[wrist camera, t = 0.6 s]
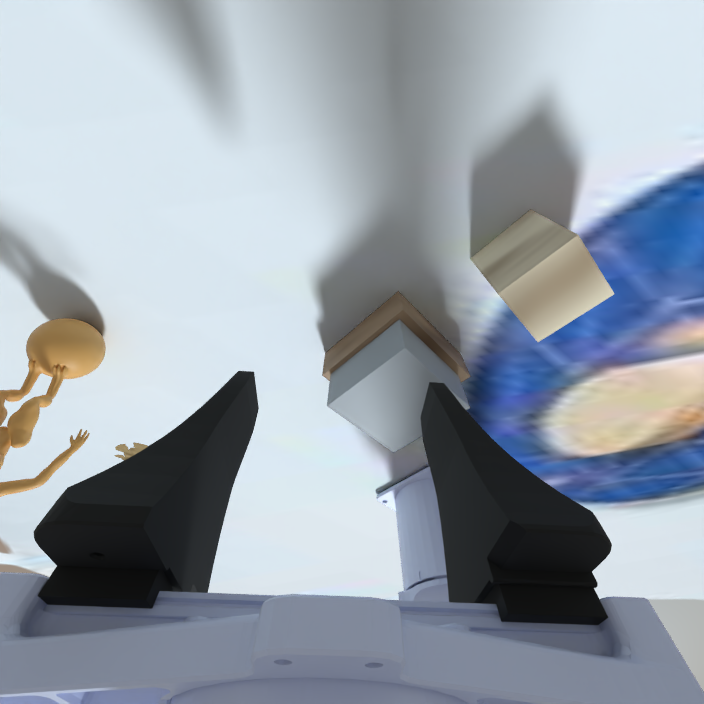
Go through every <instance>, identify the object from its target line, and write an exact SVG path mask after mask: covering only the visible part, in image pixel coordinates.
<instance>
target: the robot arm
mask: <svg viewBox="0 0 704 704" xmlns="http://www.w3.org/2000/svg"><path fill="white" fill-rule="evenodd" d="M258 409H259V408H258V400H257V392H256V385H255V377H254V372H247V371H238V372H237V373H236V374H235V375H234V376H233V377H232V378H231V379H230V380H229V381H228V382H227V383H226V384H225V385H224V386H223V387H222V388H221V389H220V390H219V391H218V392H217V393H216V394H215V395H214V396H213V397H212V398H211V399H209V400H208V401H207V402H206V403H205V404H204V405H203V406H202V407H201V408H200V409H198V410H197V411H196V412H195V413H194V414H193V415H191V416H190V417H189V418H188V419H187V420H185V421H184V422H183V423H182V424H180V425H179V426H178V427H176V428H175V429H174V430H172V431H171V432H170V433H168V434H167V435H165V436H164V437H162V438H161V439H159V440H158V441H156V442H155V443H153V444H151V445H150V446H148V447H147V448H145V449H143V450H142V451H140V452H139V453H137V454H135V455H133V456H132V457H130V458H128V459H126V460H124V461H123V462H121V463H119V464H117V465H115V466H113V467H111V468H109V469H107V470H105V471H103V472H101V473H99V474H97V475H95V476H93V477H90V478H88V479H86V480H84V481H82V482H80V483H77V484H75V485H73V486H71V487H68V488H67V489H66V490H65V492H64V493H63V494H62V495H61V496H60V498H59V499H58V500H57V501H56V503H55V504H54V505H53V507H52V508H51V509H50V510H49V512H48V513H47V514H46V516H45V517H44V518H43V520H42V521H41V522H40V524H39V525H38V526H37V528H36V529H35V531H34V538H35V541H36V543H37V544H38V546H39V547H40V548H41V549H42V550H43V551H44V552H45V553H46V554H47V555H48V556H49V557H50V559H51V560H52V561H53V562H54V563H55V564H56V565H57V567H56V568H55V570H54V572H53V573H52V575H51V576H50V578H49V577H47V576H44V575H41V574H33V573H7V572H0V704H704V692H703V690H702V688H701V687H700V685H699V684H698V682H697V680H696V678H695V677H694V675H693V673H692V672H691V670H690V669H689V667H688V665H687V664H686V662H685V660H684V659H683V657H682V655H681V654H680V652H679V650H678V649H677V647H676V646H675V644H674V642H673V640H672V639H671V637H670V636H669V634H668V632H667V630H666V629H665V627H664V625H663V624H662V622H661V621H660V619H659V617H658V615H657V614H656V612H655V610H654V609H653V608H652V606H651V604H650V602H649V601H648V600H647V599H645V598H634V597H606V598H602V599H600V600H599V598H598V596H597V594H596V592H595V590H594V588H596V587H597V581H596V579H595V577H594V575H593V573H592V571H593V570H594V569H595V568H596V567H597V566H598V565H599V564H600V563H601V562H602V561H603V560H604V559H605V558H606V557H607V556H608V555H609V553H610V551H611V546H612V544H611V542H610V540H609V538H608V536H607V535H606V533H605V531H604V530H603V528H602V526H601V525H600V523H599V521H598V520H597V518H596V517H595V515H594V514H593V512H591V511H590V510H588V509H586V508H585V507H583V506H581V505H580V504H578V503H576V502H575V501H573V500H571V499H570V498H568V497H566V496H565V495H563V494H561V493H560V492H558V491H557V490H555V489H554V488H553V487H551V486H550V485H548V484H547V483H545V482H544V481H542V480H541V479H540V478H538V477H537V476H535V475H534V474H533V473H531V472H530V471H529V470H527V469H526V468H525V467H524V466H522V465H521V464H520V463H519V462H517V461H516V460H515V459H514V458H513V457H511V456H510V455H509V454H508V453H507V452H506V451H505V450H503V449H502V448H501V447H500V446H499V445H498V444H497V443H496V442H495V441H494V440H493V439H492V438H491V437H490V436H489V435H488V434H487V433H486V432H485V431H484V430H483V429H482V428H481V427H480V426H479V425H478V424H477V423H476V421H475V420H474V419H473V418H472V417H471V416H470V414H469V413H468V412H467V411H466V410H465V408H464V407H463V406H462V405H461V404H460V402H459V401H458V400H457V399H456V397H455V396H454V395H453V393H452V392H451V391H450V390H449V388H448V387H447V386H446V385H445V383H437V382H429V386H428V390H427V393H426V397H425V401H424V405H423V409H422V413H421V417H420V419H421V428H422V436H423V442H424V446H425V450H426V454H427V458H428V462H429V467H427V468H425V469H423V470H421V471H420V472H418V473H416V474H414V475H412V476H411V477H409V478H407V479H405V480H403V481H401V482H400V483H398V484H396V485H394V486H392V487H390V488H389V489H387V490H385V491H383V492H381V493H380V494H378V495H377V501H379V502H380V503H382V504H384V505H385V506H387V507H389V508H390V509H392V510H394V511H395V512H396V517H397V527H398V537H399V547H400V557H401V567H402V577H403V586H404V591H402V592H399V593H398V594H399V600H385V599H379V598H372V597H350V596H324V595H299V594H291V595H278V596H274V595H248V594H222V593H208V588H209V583H210V578H211V573H212V569H213V564H214V559H215V555H216V551H217V546H218V542H219V537H220V533H221V529H222V525H223V521H224V517H225V513H226V509H227V505H228V502H229V498H230V494H231V490H232V487H233V484H234V481H235V478H236V476H237V473H238V470H239V468H240V465H241V462H242V460H243V457H244V454H245V452H246V449H247V446H248V444H249V441H250V438H251V436H252V433H253V430H254V426H255V422H256V417H257V413H258Z"/></svg>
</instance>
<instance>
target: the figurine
mask: <svg viewBox="0 0 704 704" xmlns="http://www.w3.org/2000/svg"><path fill="white" fill-rule="evenodd" d="M26 352H27V356H28V358H29V365H28V366H29V373H28V375H27V377H26V379H25V381H24V384H23V386H22V387H21V389H20V390H0V426H1V425H2V423H3V422H4V420H5V418H6V416H7V410H6V409H5V407H4V402H5V399H6V400H7V401H10V402H14V401H19V400H21V399H22V398H23V397H24V396H25V395H27V394H28V393H29V392H30V390H31V389H32V387H33V385H34V383H35V382H36V380H37V378H38V376H39V375H40V374H41V373H43V374H45V375H48V376H51V377H53V378H52V381H51V384H50V386H49V388H48V391H47V394H46V395H42V396H38V397H34V398H32V399H30V400H28V401H26V402H25V403H24V404H23V405H22V406H21V408H20V409H19V410H18V411H17V412H15V413H14V414H13V415H12V416H11V417H10V418H9V420H8V425H7V427H0V469H1V466H2V465H3V462H4V457H5V455H6V454H7V452H8V450H9V448H10V446H12V447H14V448H19V447H23V446H25V445H26V444H27V443H28V442H29V441H30V439H31V436H32V431H33V429H34V427H35V425H36V423H37V420H38V417H39V410H40V407H47V406H49V405H50V404H51V403H52V399H53V398H54V397H55V395H56V394H57V392H58V389H59V387H60V385H61V383H62V381H63V379H73V378H78V377H82V376H84V375H87V374H89V373H90V372H92V371H93V370H95V369H96V368H97V367H98V366H99V365H100V364H101V362H102V360H103V358H104V356H105V342H104V339H103V337H102V336H101V334H100V333H99V332H98V331H97V330H96V329H95V328H94V327H93V326H91V325H90V324H88V323H86V322H83V321H80V320H76V319H70V318H62V319H55V320H51V321H48V322H46V323H44V324H42V325H40V326H39V327H37V328H36V329H35V330H34V331H33V332H32V333H31V335H30V336H29V338H28V341H27V345H26ZM81 432H82V429H81V430H80V432H79V434H78V435H77V438H76V439H75V440H73V436H72V435H71V437H70V443H71V447H70V448H69V449H67V450H66V451H64V452H63V453H62V454H60V455H59V456H58V457H57V458H56V459H55V460H54V461H53V462H52V463H51V464H50V465H49V466H48V467H47V468H46V469H44V470H43V471H42V472H41V473H40V474H39V475H38V476H37V477H36V478H34V479H23V480H16V481H8V482H1V483H0V497H1V496H4V495H7V494H13V493H18V492H23V491H27V490H31V489H34V488H37V487H40V486H41V485H43V484H44V483H45V482H46V481H47V480H48V479H49V478H50V477H51V476H52V474H53V473H54V472H55V471H56V470H57V469H58V468H59V467H61V466H62V465H63V464H64V463H65V462H66V461H67V460H68V459H69V457H70V456H71V455H72V454H73V453H74V452H75V451H77V450H78V449H79V448H80V447H81V446H82V445H83V444H84V442H85V441H86V439H87V438H88V436H89V434H90V433H88V435H87V436H86V437H85V435H86V433H87V430H86V431H85V432H84V434H83V435H82V437H81V436H80V435H81ZM84 437H85V438H84Z"/></svg>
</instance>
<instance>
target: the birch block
mask: <svg viewBox="0 0 704 704" xmlns="http://www.w3.org/2000/svg"><path fill="white" fill-rule="evenodd" d="M470 259H471V260H472V262H473V263H474V264H475V265H476V267H477V268H478V269H479V270H480V272H481V273H482V274H483V275H484V277H485V278H486V279H487V281H488V282H489V283H490V284H491V286H492V287H493V288H494V289H495V291H496V292H497V293H498V294H499V296H500V297H501V298H502V299H503V300H504V302H505V303H506V304H507V305H508V307H509V308H510V309H511V310H512V311H513V313H514V314H515V315H516V316H517V317H518V319H519V320H520V321H521V322H522V323H523V325H524V326H525V327H526V328H527V330H528V331H529V332H530V333H531V334H532V336H533V337H534V338H535V339H536V340H537V342H539V341H541V340H542V339H544V338H546V337H547V336H549V335H550V334H552V333H553V332H555V331H557V330H558V329H560V328H561V327H563V326H565V325H566V324H568V323H569V322H571V321H572V320H574V319H576V318H577V317H579V316H580V315H582V314H584V313H585V312H587V311H588V310H590V309H592V308H593V307H595V306H596V305H598V304H599V303H601V302H603V301H604V300H606V299H607V298H609V297H611V296H612V295H614V292H613V291H612V289H611V288H610V286H609V284H608V283H607V281H606V279H605V278H604V276H603V275H602V273H601V271H600V270H599V268H598V266H597V265H596V263H595V262H594V260H593V258H592V257H591V255H590V253H589V252H588V250H587V249H586V247H585V245H584V244H583V242H582V240H581V239H580V237H579V236H578V235H577V234H576V233H574V232H572V231H570V230H568V229H566V228H564V227H563V226H561V225H559V224H557V223H555V222H553V221H551V220H550V219H548V218H546V217H544V216H542V215H540V214H538V213H537V212H535V211H533V210H531V209H530V210H529V211H528V212H527V213H526V214H524V215H523V216H522V217H521V218H519V219H518V220H517V221H516V222H514V223H513V224H512V225H511V226H510V227H508V228H507V229H506V230H505V231H503V232H502V233H501V234H500V235H498V236H497V237H496V238H495V239H494V240H492V241H491V242H490V243H489V244H487V245H486V246H485V247H484V248H483V249H481V250H480V251H479V252H478V253H476V254H475V255H474V256H473V257H471V258H470Z"/></svg>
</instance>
